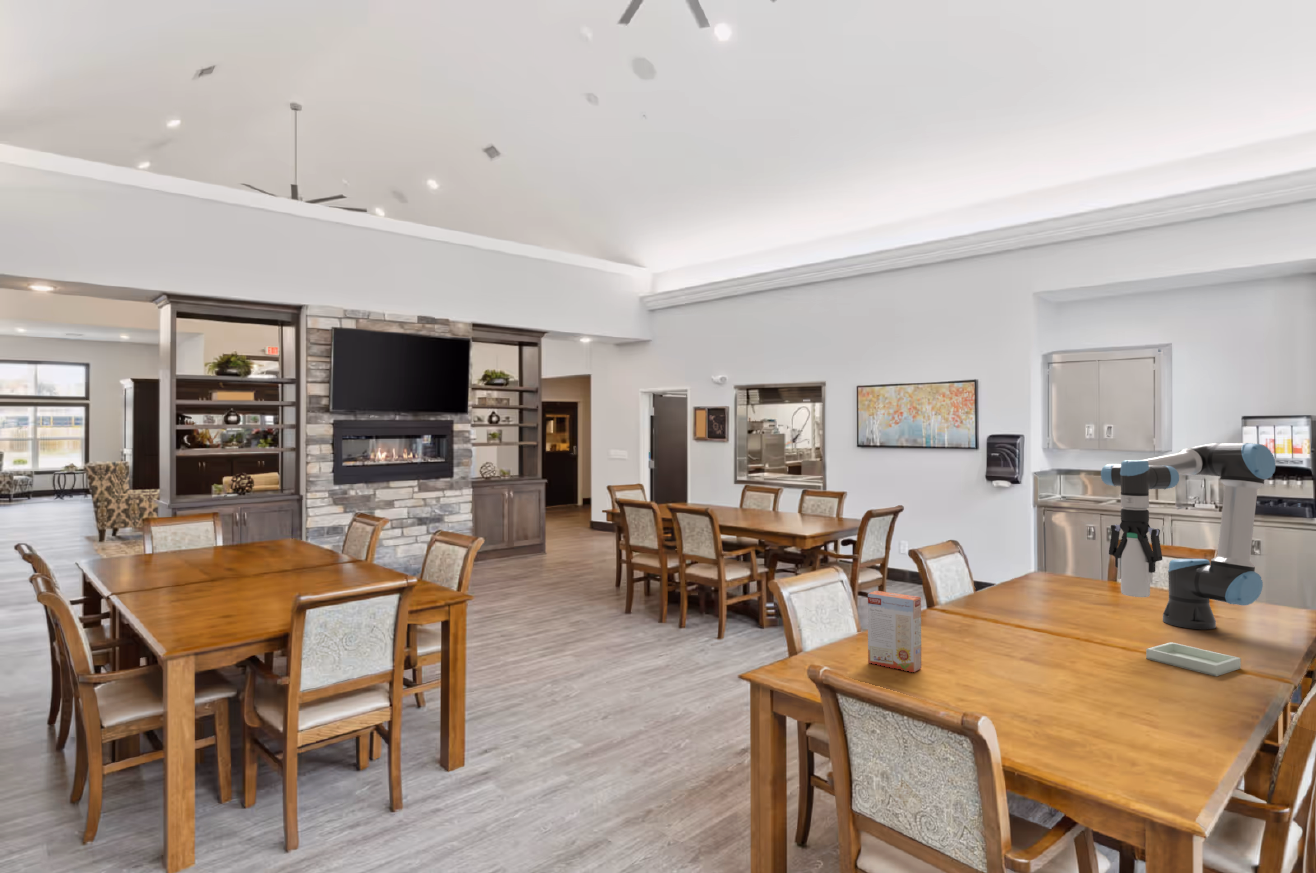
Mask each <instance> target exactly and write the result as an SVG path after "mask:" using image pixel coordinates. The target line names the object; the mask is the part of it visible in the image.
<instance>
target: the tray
mask: <svg viewBox="0 0 1316 873" xmlns="http://www.w3.org/2000/svg"><path fill="white" fill-rule="evenodd" d="M1145 650H1146V652H1145V654H1146V659H1147V660H1150V661H1153V662H1156V663H1157V662H1158V663H1161V664H1165V665H1169V666H1173V667H1176V668H1177V667H1178V668H1182V669H1185V670H1189V671H1193V672H1197V673H1201V674H1205V675H1208V676H1209V675H1210V676H1213V677H1218V676H1221V675H1225V674H1229V673H1230V672H1235V671H1236V670H1240V669H1241V666H1242V665H1241V659H1242V658H1241V657H1238V656H1234V655H1230V654H1224V653H1220V652H1215V651H1212V650H1208V649H1207V650H1206V649H1202V648H1198V647H1194V646H1190V645H1185V644H1182V643H1181V644H1180V643H1177V642H1172V641H1170V642H1167V643H1164V644H1159V645H1155V646H1152V647H1149V648H1146V649H1145Z"/></svg>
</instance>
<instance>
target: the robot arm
mask: <svg viewBox="0 0 1316 873" xmlns="http://www.w3.org/2000/svg"><path fill="white" fill-rule="evenodd" d="M1275 472H1276V459H1275V456H1274V454H1273V452H1272V451H1271V450H1270V448H1268V447H1267V446H1265V445H1263V444H1260V443H1253V442H1236V443H1235V442H1223V443H1222V442H1212V443H1207V444H1201V445H1196V446H1192V447H1189V448H1188V447H1187V448H1183V449H1180V450H1178V451H1177V453H1173V454H1167V455H1166V454H1165V455H1161V456H1156V457H1151V458H1146V459H1145V458H1144V459H1127V460H1126V459H1125V460H1122V461H1121V463H1107V464H1105V465H1104V466H1102V469H1101V470H1100V478H1101V481H1102V482H1103V484H1105V485H1107V486H1113V487H1120V507H1121V509H1120V520H1121V521H1120V523H1119V524H1111V525H1110V530H1111V535H1110V541H1109V549H1108V555H1110V556H1113V557H1114V558H1115V559H1114V560H1115V562H1114V564H1115V565H1114V566H1115V567H1116V568H1117V579H1120V580H1121V556H1122V553H1123V551H1124V549H1125V547H1126V544H1127V539H1126V538H1127V533H1128V532H1132V533H1136V534H1137V538H1138V540H1139V542H1140V543H1141V545H1142V548H1143V550H1144V553H1145V555H1146V557H1147V560H1148V561H1147V562H1145V583H1150V584H1151V583H1153V582H1154V581H1153V575H1154V574H1153V573H1156V563H1157V562H1160V561H1163V554H1162V547H1161V539H1160V534H1161V530H1160V529H1159V528H1153V527H1151V526H1150V523H1149V521H1150V511H1149V510H1148V509H1149V508H1150V497H1149V496H1150V492H1149V491H1150V490H1167V489H1172V488H1175V487H1176V486H1177V485H1178V484H1179V481H1180V476H1181V475H1185V476H1190V477H1192V476H1196V475H1197V476H1200V475H1201V476H1213V477H1219V478H1220V479H1219V481H1220V483H1221V484H1223V486H1224V490H1223V501H1222V510H1221V521H1220V527H1219V537H1218V544H1217V546H1218V548H1217V554H1216V556H1215V557H1213V558H1211V559H1210V560H1209V559H1207V558H1178V559H1177V558H1176V559H1175V558H1174V559H1172V560H1170V561H1169V564H1168V570H1167V572H1168V601H1167V604H1166V606H1165V609H1164V610H1163V613H1162V622H1163V623H1165V624H1167V625H1171V626H1174V627H1178V628H1185V629H1191V630H1192V629H1193V630H1213V629H1216V627H1217V624H1216V623H1217V622H1216V618H1215V615H1214V613H1213V611H1212V607H1211V605H1210V600H1213V601H1217V602H1221V603H1226V604H1229V605H1238V606H1249V605H1251V604H1253V603H1254V602H1255V601H1257V600H1258V599H1259V597H1260V596H1261V593H1262V592H1263V587H1264V586H1263V585H1264V584H1263V583H1264V582H1263V580H1262V576H1261V575H1260V574H1259V573H1258V572H1256V571H1255V570H1256V565H1254V563H1252V562H1251V552H1252V543H1253V534H1254V525H1255V524H1254V522H1255V518H1256V517H1255V515H1256V507H1257V497H1258V491H1259V489H1260V488H1262V487H1263V486H1264V485H1265V480H1268V479H1270V478H1272V477H1273V474H1275ZM1121 530H1122V532H1123V533H1122V535H1121V539H1119V538H1120V534H1121V533H1120V531H1121ZM1148 533H1149V535H1150V542H1151V544H1150V542H1149V538H1148V537H1149V536H1148V535H1147V534H1148ZM1142 537H1144V538H1142ZM1128 538H1129V537H1128ZM1119 540H1120V541H1119Z"/></svg>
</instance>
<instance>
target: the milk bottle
mask: <svg viewBox="0 0 1316 873" xmlns="http://www.w3.org/2000/svg"><path fill="white" fill-rule="evenodd" d="M1128 537H1129V538H1128ZM1142 538H1144V537H1142ZM1126 539H1127V544H1126V547H1125V549H1124V551H1123V553H1122V556H1121V579H1120V593H1121V595H1124V596H1127V597H1135V598H1148V597H1150V596H1151V583H1145V562H1147V561H1148V560H1147V557H1146V555H1145V553H1144V550H1143V548H1142V545H1141V543H1140V542H1139V540H1138V538H1137V534H1136V533H1132V532H1128V533H1127V538H1126Z"/></svg>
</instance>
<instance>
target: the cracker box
mask: <svg viewBox="0 0 1316 873" xmlns="http://www.w3.org/2000/svg"><path fill="white" fill-rule="evenodd" d="M867 663H868V664H871V663H872V664H871V665H875V664H877V665H876V666H880V665H881V666H882V667H884V666H885V668H889V667H890V669H894V668H897V669H896V670H898V669H901V670H900V671H903V670H904V671H903V672H907V671H909V672H908V673H911V672H914V673H916V672H917V671H919V670H921V669H922V597H921V596H915V595H908V594H902V593H895V592H887V591H881V590H874V591H871V592H868V593H867Z"/></svg>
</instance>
